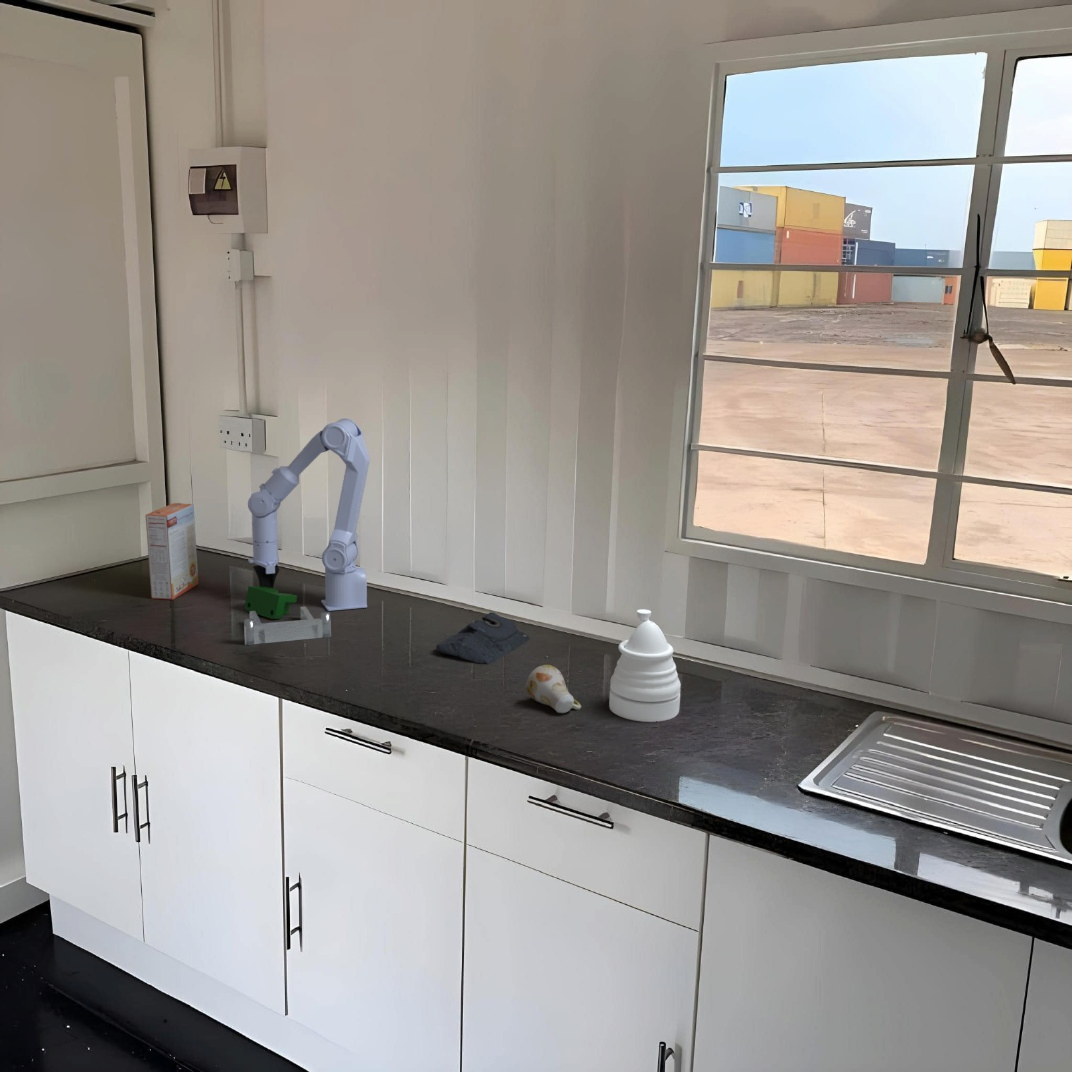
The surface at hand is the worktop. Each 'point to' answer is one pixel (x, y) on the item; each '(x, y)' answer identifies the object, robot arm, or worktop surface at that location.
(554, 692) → the mug
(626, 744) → the worktop surface
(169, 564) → the cracker box
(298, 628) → the dock
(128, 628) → the worktop surface
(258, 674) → the worktop surface
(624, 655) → the honey pot
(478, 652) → the folded dark cloth
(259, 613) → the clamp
